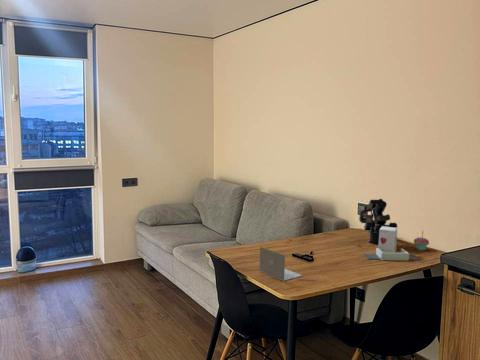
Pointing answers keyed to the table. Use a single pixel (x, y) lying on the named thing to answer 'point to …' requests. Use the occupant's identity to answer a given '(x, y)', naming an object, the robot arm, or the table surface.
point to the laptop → (275, 265)
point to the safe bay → (392, 256)
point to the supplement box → (387, 239)
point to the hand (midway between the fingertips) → (383, 238)
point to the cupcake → (421, 243)
